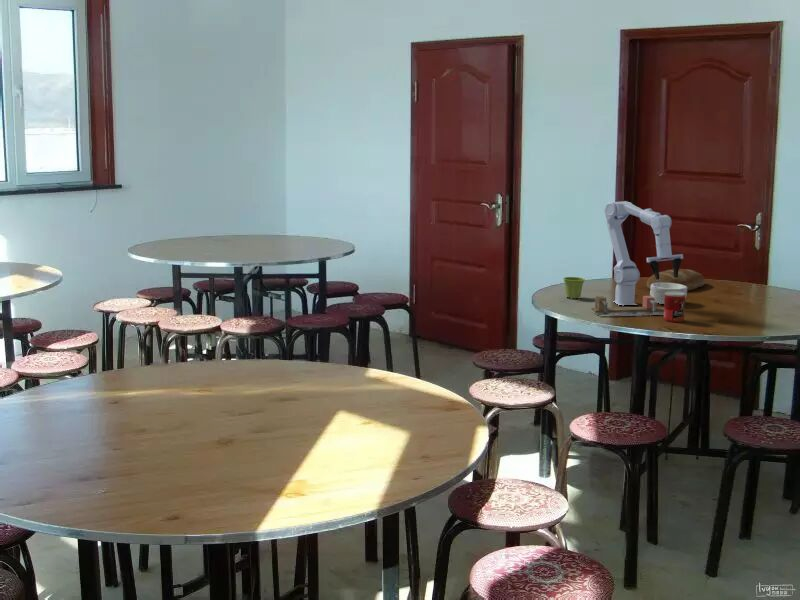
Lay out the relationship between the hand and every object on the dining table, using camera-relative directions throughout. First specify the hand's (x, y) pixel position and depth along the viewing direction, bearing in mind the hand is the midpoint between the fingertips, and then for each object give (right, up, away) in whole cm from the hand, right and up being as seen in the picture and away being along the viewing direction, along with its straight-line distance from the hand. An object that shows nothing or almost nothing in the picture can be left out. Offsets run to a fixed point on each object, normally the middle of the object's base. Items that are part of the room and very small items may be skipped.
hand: (666, 278), depth 401 cm
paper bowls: (+7, -10, +25) cm, 28 cm away
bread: (+22, -3, +65) cm, 69 cm away
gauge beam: (-14, -14, +3) cm, 20 cm away
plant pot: (-31, -8, +36) cm, 49 cm away
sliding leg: (-6, -12, +4) cm, 14 cm away
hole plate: (-13, -15, 0) cm, 20 cm away
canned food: (0, -17, -11) cm, 20 cm away
